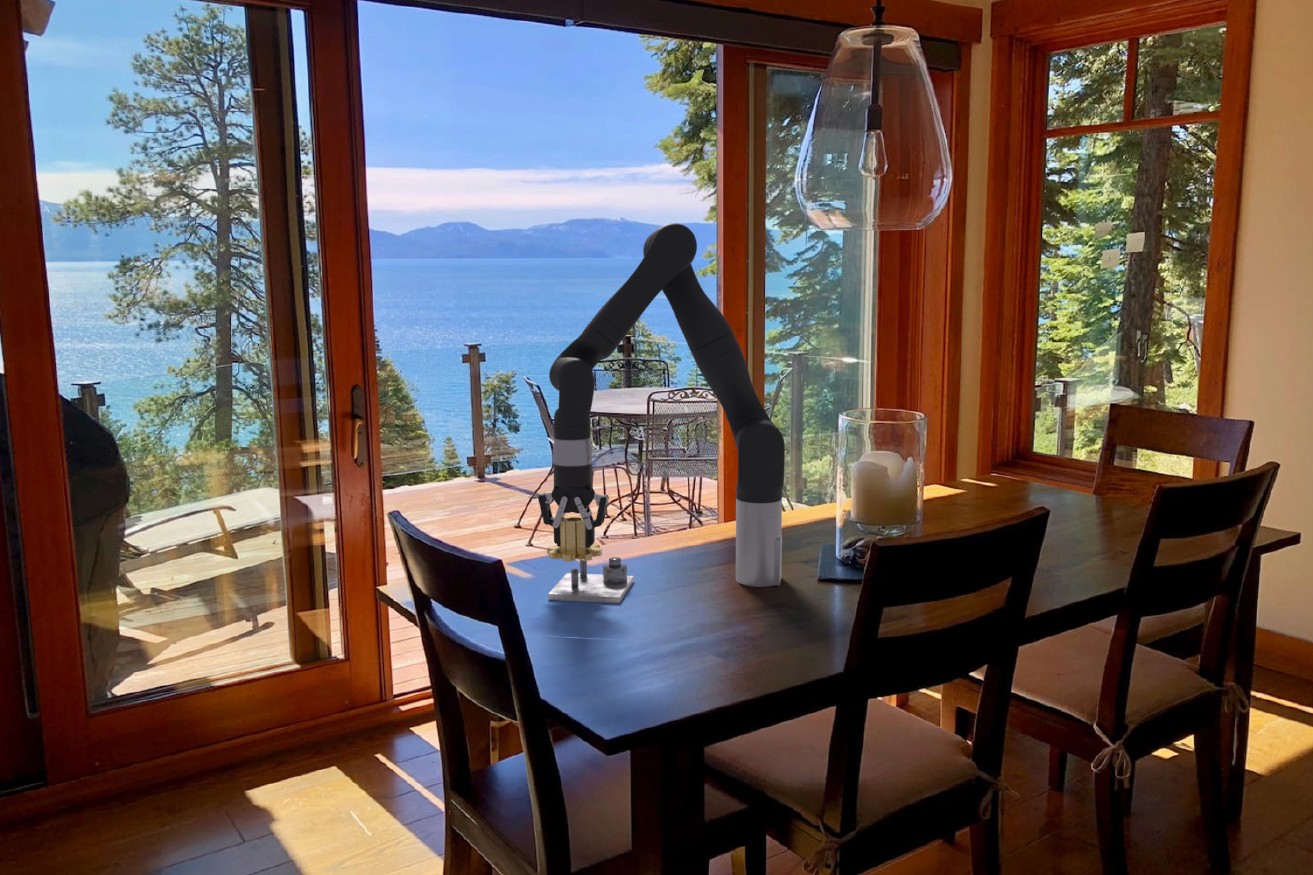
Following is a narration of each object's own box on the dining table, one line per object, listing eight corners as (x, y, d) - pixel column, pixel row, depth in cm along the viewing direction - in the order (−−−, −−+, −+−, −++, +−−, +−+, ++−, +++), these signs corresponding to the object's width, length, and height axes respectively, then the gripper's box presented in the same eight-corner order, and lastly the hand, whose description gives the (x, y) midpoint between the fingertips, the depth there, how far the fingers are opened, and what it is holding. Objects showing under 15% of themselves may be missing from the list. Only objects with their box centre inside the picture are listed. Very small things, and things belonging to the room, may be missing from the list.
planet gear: (607, 548, 193) (606, 513, 192) (594, 562, 183) (594, 526, 182) (555, 545, 195) (554, 512, 194) (540, 560, 185) (539, 524, 184)
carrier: (633, 581, 197) (633, 554, 196) (619, 603, 184) (619, 573, 183) (567, 578, 200) (566, 551, 199) (548, 599, 186) (547, 570, 185)
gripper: (613, 458, 189) (614, 542, 191) (542, 456, 191) (544, 540, 194) (604, 465, 181) (606, 553, 184) (531, 463, 184) (533, 549, 186)
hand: (574, 545), depth 189 cm, fingers closed on planet gear, 5 cm apart
